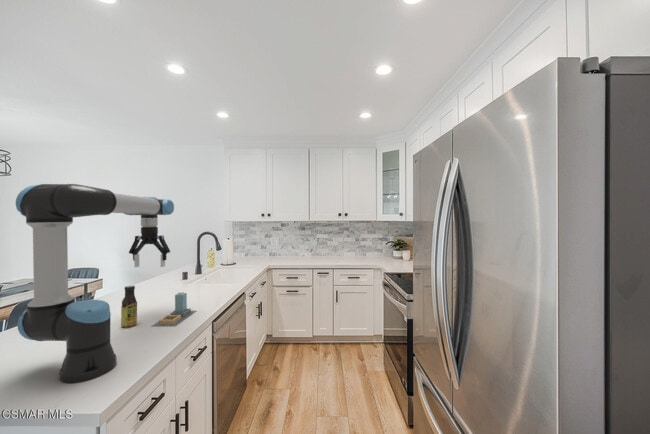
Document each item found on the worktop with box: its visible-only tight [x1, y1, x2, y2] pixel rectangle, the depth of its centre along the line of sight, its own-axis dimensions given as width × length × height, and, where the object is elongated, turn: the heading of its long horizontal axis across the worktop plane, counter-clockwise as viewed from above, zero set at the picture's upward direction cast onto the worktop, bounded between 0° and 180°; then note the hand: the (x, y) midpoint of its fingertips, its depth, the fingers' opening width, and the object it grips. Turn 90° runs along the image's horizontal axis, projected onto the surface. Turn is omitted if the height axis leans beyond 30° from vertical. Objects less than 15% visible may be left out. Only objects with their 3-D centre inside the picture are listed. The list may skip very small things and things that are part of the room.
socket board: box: [150, 308, 198, 328], centre depth 143 cm, size 22×12×3 cm, turn 179°
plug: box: [174, 291, 188, 313], centre depth 148 cm, size 4×4×12 cm
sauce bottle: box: [120, 285, 138, 329], centre depth 134 cm, size 7×6×20 cm
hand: (149, 266), depth 146 cm, fingers open, 13 cm apart
